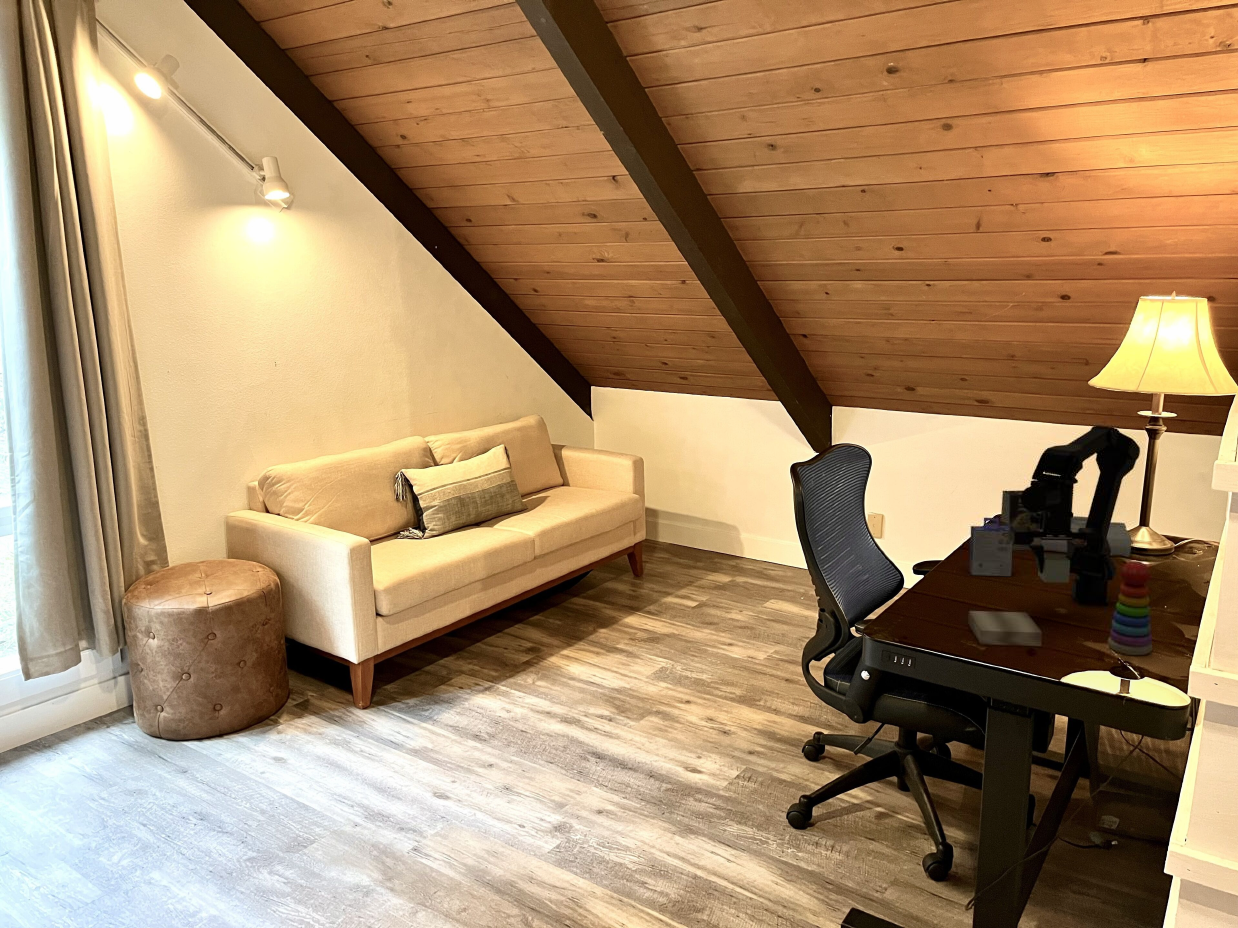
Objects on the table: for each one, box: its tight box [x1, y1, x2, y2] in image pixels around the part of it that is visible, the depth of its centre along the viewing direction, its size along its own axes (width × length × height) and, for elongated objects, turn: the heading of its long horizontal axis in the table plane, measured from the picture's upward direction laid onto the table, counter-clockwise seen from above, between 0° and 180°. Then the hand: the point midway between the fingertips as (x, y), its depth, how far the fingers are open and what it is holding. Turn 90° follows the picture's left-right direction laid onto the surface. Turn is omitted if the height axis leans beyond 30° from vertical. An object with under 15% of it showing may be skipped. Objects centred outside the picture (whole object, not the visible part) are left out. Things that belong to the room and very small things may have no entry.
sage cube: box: [1037, 553, 1070, 584], centre depth 204 cm, size 5×5×5 cm
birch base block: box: [968, 610, 1043, 647], centre depth 196 cm, size 12×12×3 cm
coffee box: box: [999, 489, 1042, 551], centre depth 259 cm, size 9×6×16 cm
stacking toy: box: [1107, 560, 1153, 656], centre depth 185 cm, size 8×8×19 cm
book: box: [1041, 515, 1134, 558], centre depth 258 cm, size 19×28×8 cm
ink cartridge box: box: [969, 517, 1013, 577], centre depth 237 cm, size 10×6×14 cm, turn 78°
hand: (1053, 573), depth 204 cm, fingers closed on sage cube, 5 cm apart
